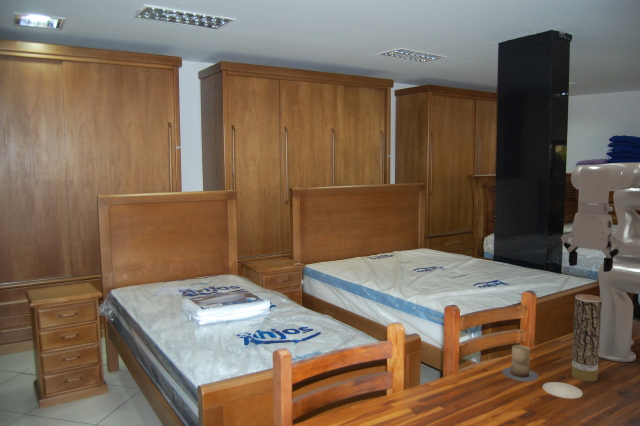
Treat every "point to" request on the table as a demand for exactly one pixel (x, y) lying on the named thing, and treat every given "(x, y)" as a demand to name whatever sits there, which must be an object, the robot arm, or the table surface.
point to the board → (531, 377)
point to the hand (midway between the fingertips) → (589, 268)
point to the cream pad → (562, 390)
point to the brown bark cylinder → (586, 337)
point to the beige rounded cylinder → (520, 361)
